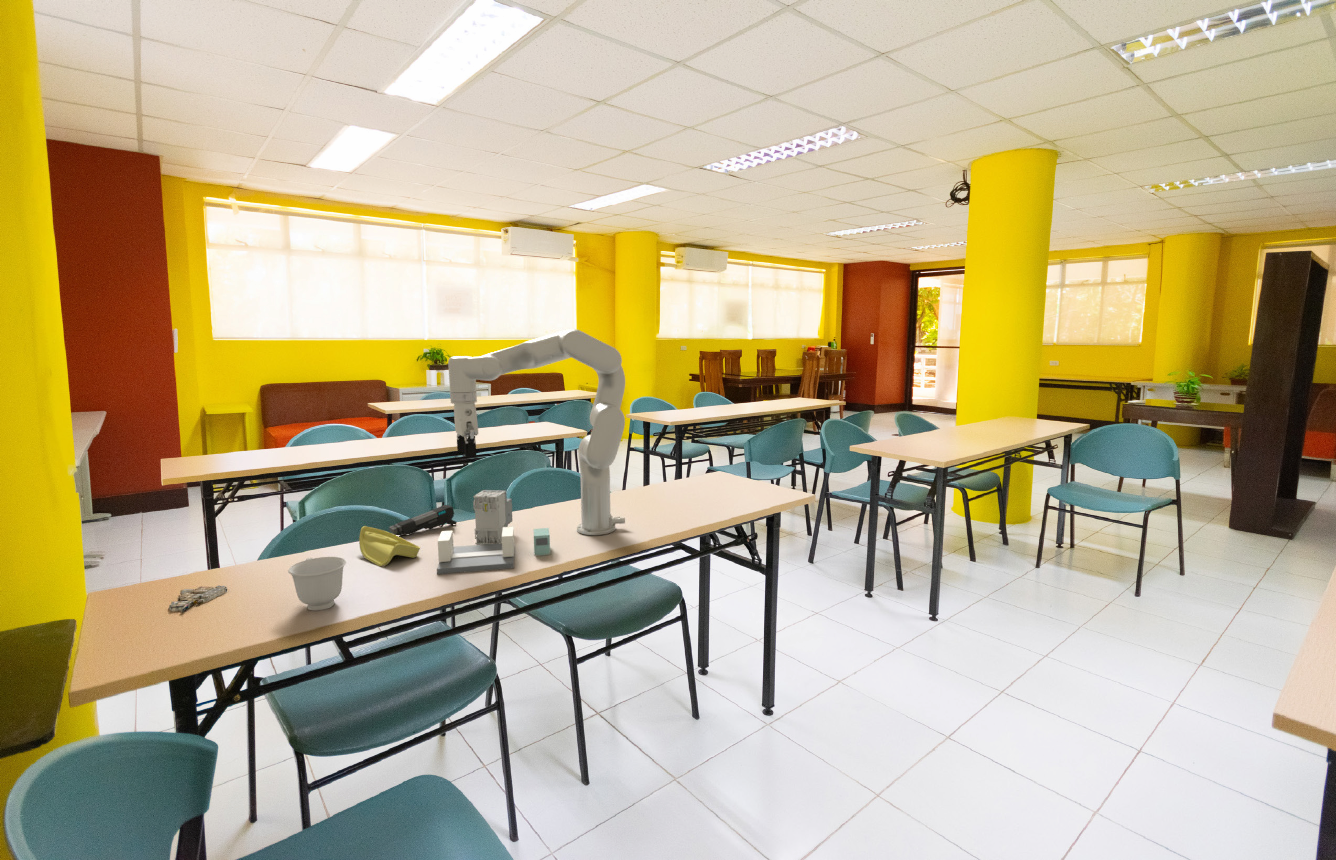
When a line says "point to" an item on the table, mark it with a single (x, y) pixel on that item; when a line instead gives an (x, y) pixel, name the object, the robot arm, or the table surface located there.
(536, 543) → the block
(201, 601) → the circuit board
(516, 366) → the robot arm
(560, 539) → the table surface
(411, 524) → the gun
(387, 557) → the plastic component
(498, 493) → the circuit breaker
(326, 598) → the teacup
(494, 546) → the rail board
